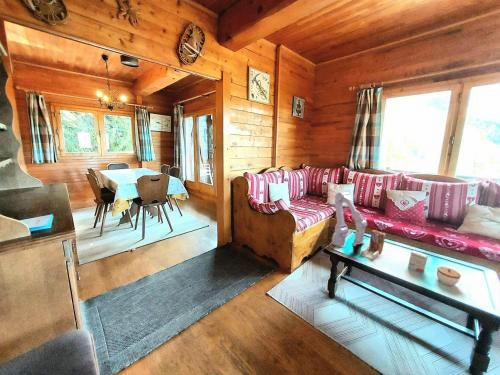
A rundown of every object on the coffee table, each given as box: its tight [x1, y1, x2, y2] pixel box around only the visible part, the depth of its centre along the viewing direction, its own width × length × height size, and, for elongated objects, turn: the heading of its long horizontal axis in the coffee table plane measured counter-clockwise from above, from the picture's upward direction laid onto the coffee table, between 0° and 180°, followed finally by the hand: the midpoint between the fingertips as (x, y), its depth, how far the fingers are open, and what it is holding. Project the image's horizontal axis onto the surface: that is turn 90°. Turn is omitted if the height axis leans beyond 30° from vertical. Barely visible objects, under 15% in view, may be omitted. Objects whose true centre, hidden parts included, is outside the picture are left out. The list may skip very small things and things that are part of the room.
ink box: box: [407, 250, 429, 274], centre depth 148 cm, size 9×5×12 cm, turn 42°
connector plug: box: [351, 247, 362, 257], centre depth 165 cm, size 4×9×6 cm, turn 131°
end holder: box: [361, 246, 379, 261], centre depth 164 cm, size 8×9×4 cm
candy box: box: [368, 229, 386, 253], centre depth 172 cm, size 9×4×15 cm, turn 39°
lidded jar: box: [436, 266, 462, 287], centre depth 136 cm, size 11×11×9 cm
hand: (356, 251), depth 166 cm, fingers closed on connector plug, 4 cm apart
